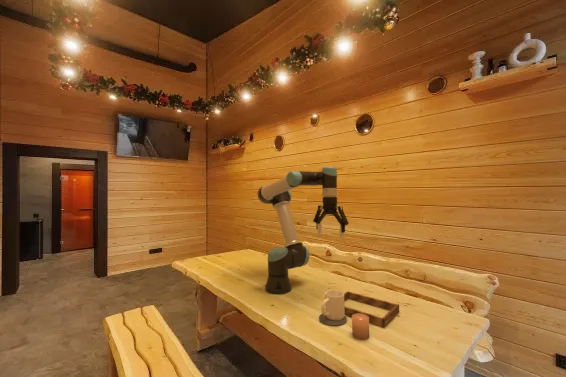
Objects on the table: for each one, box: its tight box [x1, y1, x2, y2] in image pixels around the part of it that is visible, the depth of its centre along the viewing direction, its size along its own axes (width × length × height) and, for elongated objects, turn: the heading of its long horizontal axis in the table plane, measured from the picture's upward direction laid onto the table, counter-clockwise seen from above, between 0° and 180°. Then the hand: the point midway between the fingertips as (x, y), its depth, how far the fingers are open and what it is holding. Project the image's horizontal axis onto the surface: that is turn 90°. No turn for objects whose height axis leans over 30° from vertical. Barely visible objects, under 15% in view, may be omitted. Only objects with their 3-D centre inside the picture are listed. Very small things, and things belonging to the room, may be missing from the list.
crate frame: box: [343, 291, 400, 329], centre depth 122 cm, size 26×18×4 cm
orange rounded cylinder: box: [351, 313, 370, 341], centre depth 102 cm, size 6×6×7 cm
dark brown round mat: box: [318, 312, 348, 327], centre depth 115 cm, size 12×12×1 cm
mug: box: [321, 289, 346, 321], centre depth 115 cm, size 12×8×10 cm
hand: (330, 237), depth 136 cm, fingers open, 13 cm apart
